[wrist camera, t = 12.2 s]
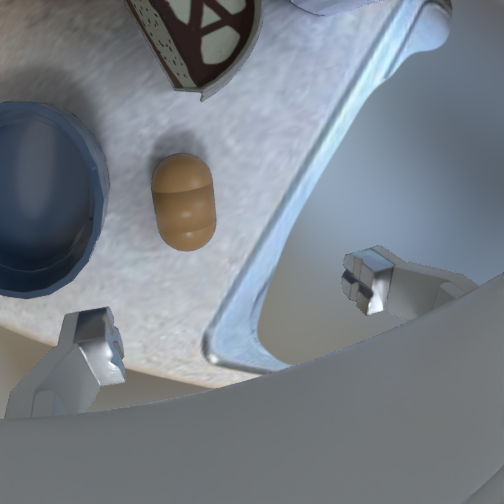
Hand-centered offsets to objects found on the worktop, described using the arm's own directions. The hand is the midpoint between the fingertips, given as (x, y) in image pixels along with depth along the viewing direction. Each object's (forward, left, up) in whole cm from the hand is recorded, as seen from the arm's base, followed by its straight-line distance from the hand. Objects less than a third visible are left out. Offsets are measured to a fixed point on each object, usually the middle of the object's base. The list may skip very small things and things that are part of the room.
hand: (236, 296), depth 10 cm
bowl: (-2, -12, -17) cm, 21 cm away
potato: (+1, +1, -17) cm, 17 cm away
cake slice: (-13, +2, -17) cm, 22 cm away
